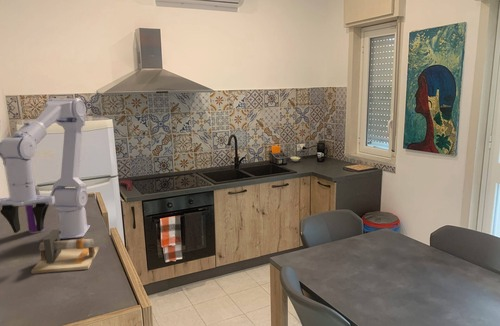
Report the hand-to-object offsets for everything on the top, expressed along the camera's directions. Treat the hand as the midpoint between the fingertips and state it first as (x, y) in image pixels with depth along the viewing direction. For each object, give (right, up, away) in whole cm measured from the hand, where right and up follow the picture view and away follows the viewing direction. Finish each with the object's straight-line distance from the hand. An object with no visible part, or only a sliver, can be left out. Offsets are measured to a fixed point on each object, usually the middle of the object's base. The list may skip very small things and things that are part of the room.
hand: (28, 230), depth 100 cm
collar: (+5, -8, +3) cm, 10 cm away
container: (-12, -5, +24) cm, 27 cm away
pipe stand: (+9, -9, +3) cm, 13 cm away
